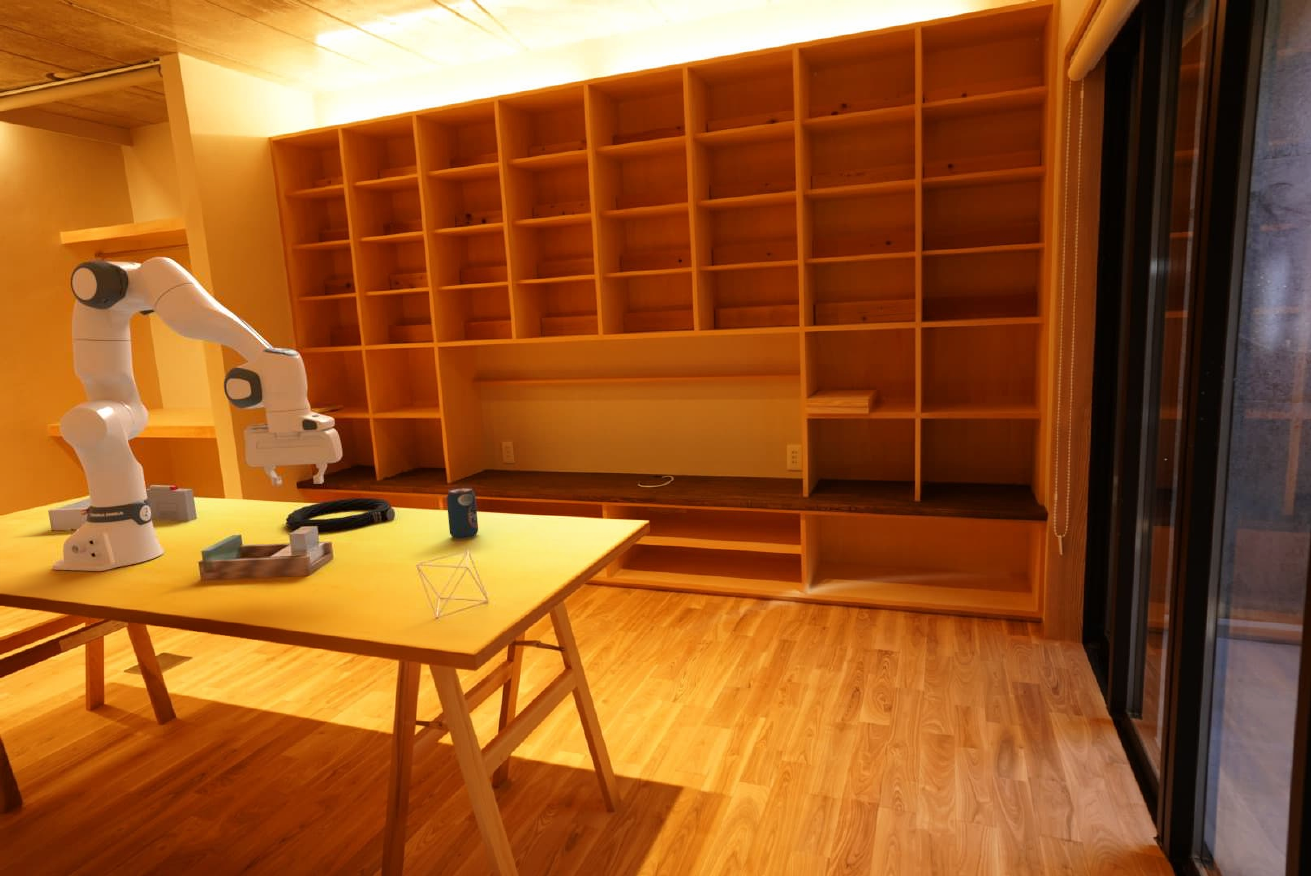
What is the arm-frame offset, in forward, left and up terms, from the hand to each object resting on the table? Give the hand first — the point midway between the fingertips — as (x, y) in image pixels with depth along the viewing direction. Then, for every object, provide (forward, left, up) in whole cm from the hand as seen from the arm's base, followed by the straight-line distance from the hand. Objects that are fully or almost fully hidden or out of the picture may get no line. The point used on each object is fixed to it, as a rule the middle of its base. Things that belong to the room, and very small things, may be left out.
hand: (297, 484), depth 169 cm
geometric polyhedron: (+41, -27, -19) cm, 53 cm away
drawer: (-9, 0, -19) cm, 21 cm away
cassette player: (-65, +51, -19) cm, 85 cm away
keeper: (-2, 0, -18) cm, 18 cm away
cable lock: (-10, +42, -20) cm, 47 cm away
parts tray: (-88, +54, -19) cm, 105 cm away
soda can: (+30, +20, -19) cm, 41 cm away
